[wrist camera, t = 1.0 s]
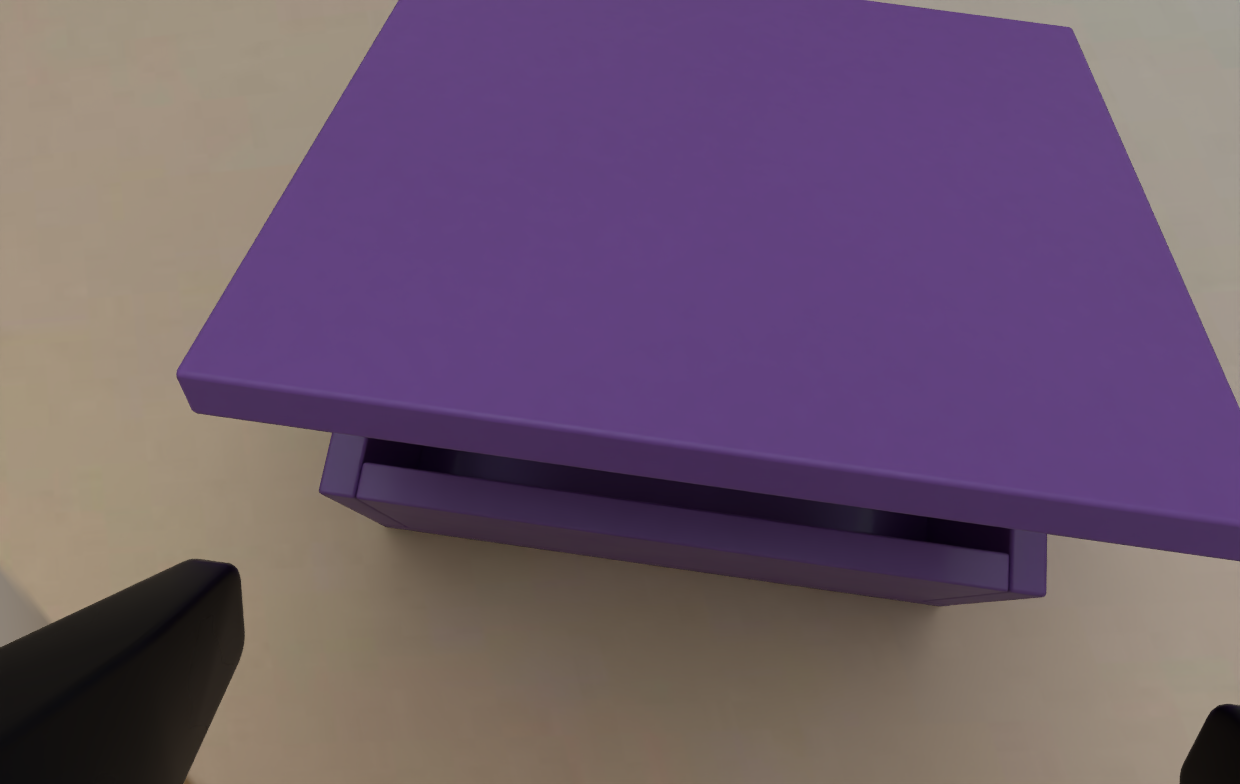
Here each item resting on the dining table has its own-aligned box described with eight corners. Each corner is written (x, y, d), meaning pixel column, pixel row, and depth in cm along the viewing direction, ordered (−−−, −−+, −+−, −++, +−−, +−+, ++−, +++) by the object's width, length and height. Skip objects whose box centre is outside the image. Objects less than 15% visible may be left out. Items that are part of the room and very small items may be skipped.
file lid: (1255, 565, 11) (1298, 531, 10) (191, 414, 11) (171, 372, 11) (1055, 62, 19) (1072, 25, 18) (434, -21, 19) (431, -59, 18)
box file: (941, 606, 21) (1048, 597, 16) (384, 526, 21) (317, 492, 16) (959, 178, 24) (1053, 58, 19) (471, 112, 24) (437, -24, 19)
